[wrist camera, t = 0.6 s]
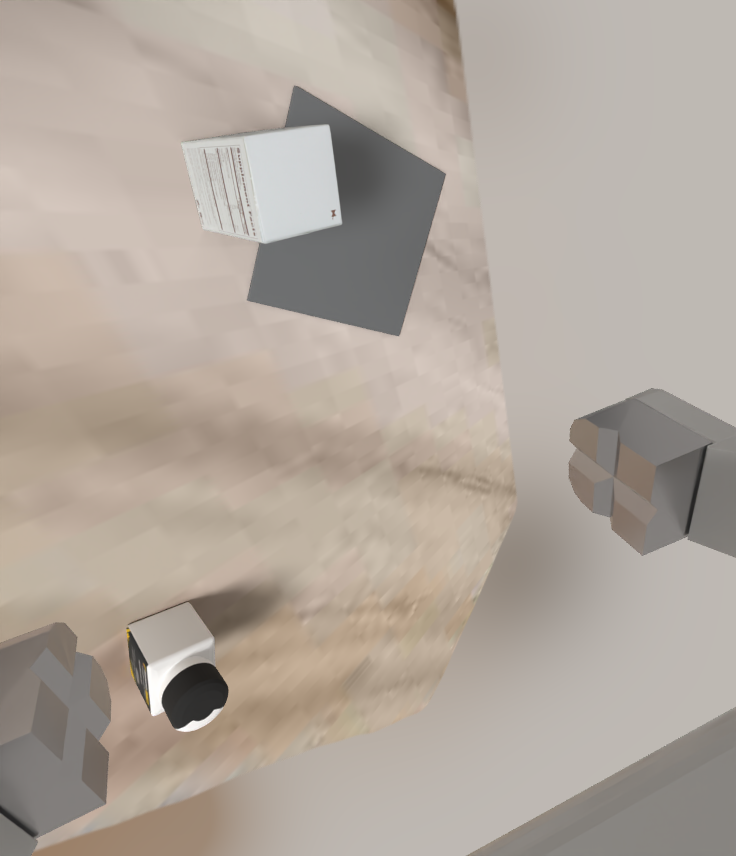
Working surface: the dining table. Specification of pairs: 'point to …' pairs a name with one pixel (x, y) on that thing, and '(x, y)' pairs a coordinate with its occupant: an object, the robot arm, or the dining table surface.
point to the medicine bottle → (177, 667)
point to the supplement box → (265, 182)
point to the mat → (354, 231)
